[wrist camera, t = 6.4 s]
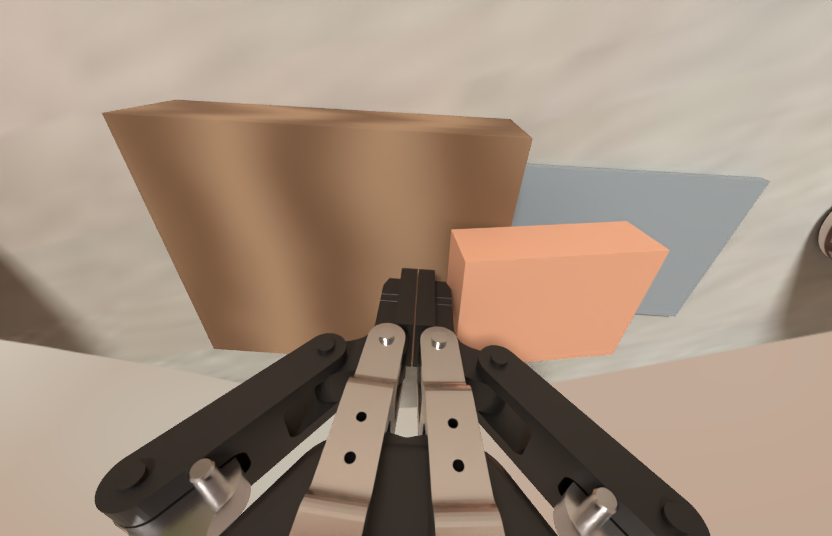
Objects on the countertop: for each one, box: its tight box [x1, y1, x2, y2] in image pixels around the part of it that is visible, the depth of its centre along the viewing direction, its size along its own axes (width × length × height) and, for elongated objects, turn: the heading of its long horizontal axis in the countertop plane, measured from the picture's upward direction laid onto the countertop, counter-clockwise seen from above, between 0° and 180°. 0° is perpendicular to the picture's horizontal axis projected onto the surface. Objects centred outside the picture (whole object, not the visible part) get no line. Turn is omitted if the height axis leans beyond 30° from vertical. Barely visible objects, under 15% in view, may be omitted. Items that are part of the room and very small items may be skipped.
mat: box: [511, 164, 770, 316], centre depth 18 cm, size 13×9×1 cm
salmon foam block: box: [447, 221, 670, 362], centre depth 14 cm, size 8×6×2 cm
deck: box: [102, 100, 532, 362], centre depth 17 cm, size 16×13×4 cm
